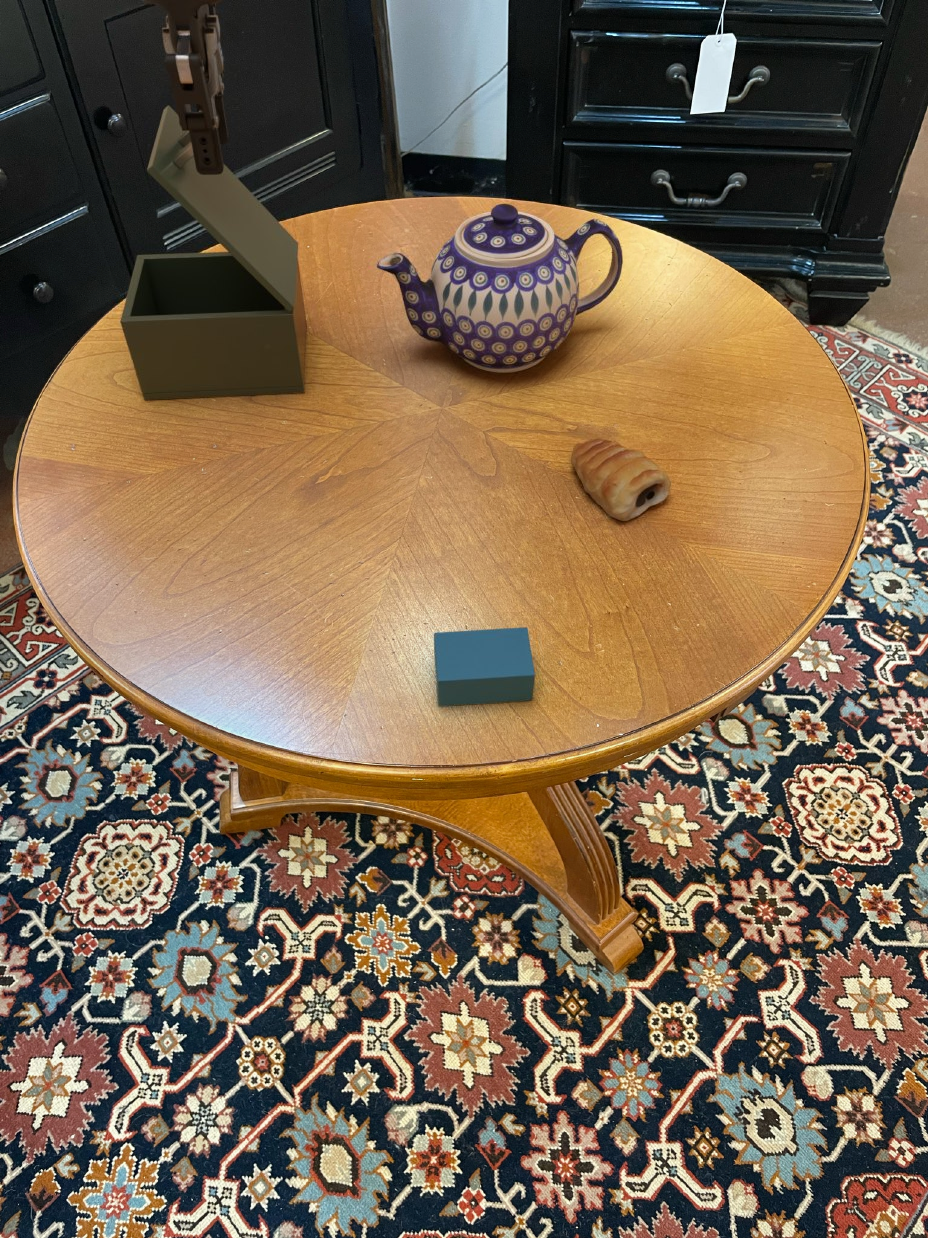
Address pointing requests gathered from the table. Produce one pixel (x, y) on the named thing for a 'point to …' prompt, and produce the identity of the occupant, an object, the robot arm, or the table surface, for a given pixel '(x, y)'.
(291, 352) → the bin
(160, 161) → the lid
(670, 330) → the table surface
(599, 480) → the pastry
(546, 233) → the teapot
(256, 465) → the table surface
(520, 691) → the blue rectangular block
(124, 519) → the table surface
